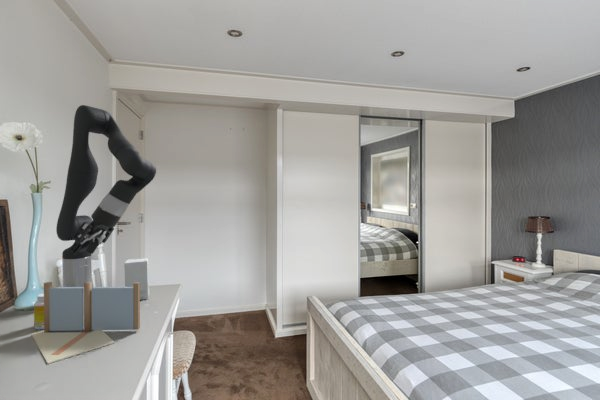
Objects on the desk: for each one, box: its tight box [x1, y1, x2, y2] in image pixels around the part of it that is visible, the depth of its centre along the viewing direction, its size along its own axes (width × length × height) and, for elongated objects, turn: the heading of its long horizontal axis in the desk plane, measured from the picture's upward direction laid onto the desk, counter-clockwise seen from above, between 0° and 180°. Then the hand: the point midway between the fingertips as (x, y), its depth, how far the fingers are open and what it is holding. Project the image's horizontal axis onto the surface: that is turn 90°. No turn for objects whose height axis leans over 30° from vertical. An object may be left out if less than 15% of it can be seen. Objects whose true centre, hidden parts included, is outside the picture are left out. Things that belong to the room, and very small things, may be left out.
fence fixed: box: [43, 281, 93, 333], centre depth 95 cm, size 14×2×15 cm, turn 94°
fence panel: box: [91, 282, 141, 331], centre depth 96 cm, size 14×1×14 cm, turn 93°
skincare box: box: [123, 257, 150, 301], centre depth 125 cm, size 8×7×16 cm
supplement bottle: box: [33, 292, 44, 330], centre depth 99 cm, size 6×6×10 cm
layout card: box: [31, 329, 115, 365], centre depth 91 cm, size 23×15×1 cm, turn 48°
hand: (80, 252), depth 100 cm, fingers open, 8 cm apart
